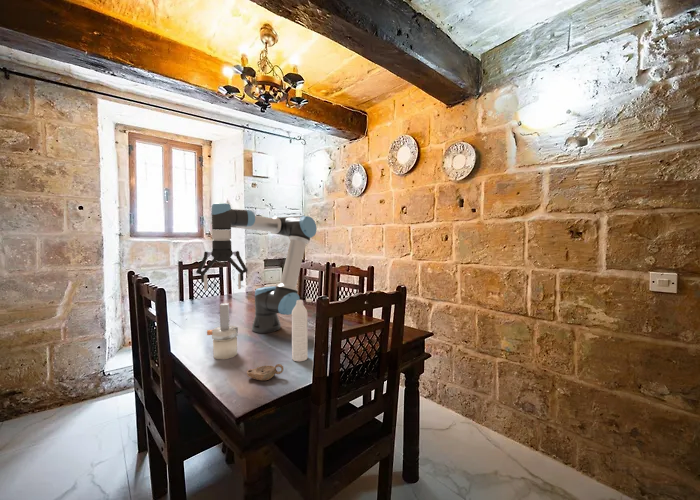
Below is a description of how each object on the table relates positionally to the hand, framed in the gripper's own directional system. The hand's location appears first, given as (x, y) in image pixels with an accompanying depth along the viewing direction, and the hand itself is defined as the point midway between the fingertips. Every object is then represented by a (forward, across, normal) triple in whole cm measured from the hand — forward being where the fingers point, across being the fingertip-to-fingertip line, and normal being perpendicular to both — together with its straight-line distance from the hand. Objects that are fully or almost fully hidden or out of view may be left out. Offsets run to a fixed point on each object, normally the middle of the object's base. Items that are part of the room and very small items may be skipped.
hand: (222, 289), depth 132 cm
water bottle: (+29, -33, +12) cm, 45 cm away
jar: (+29, 0, 0) cm, 29 cm away
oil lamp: (+29, -18, +26) cm, 43 cm away
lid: (+20, 0, 0) cm, 20 cm away
